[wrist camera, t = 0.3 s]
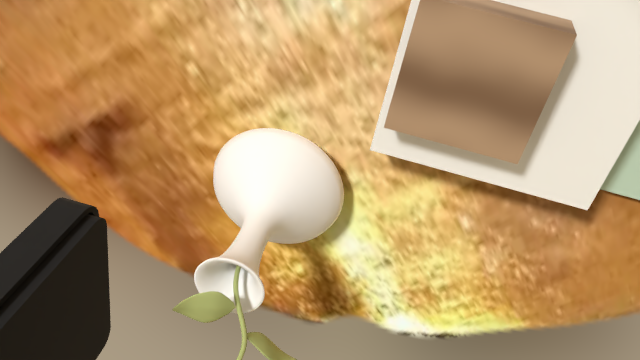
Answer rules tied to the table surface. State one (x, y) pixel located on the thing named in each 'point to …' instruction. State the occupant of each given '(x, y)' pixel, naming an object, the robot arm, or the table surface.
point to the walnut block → (478, 75)
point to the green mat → (626, 169)
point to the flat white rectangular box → (553, 109)
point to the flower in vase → (263, 220)
